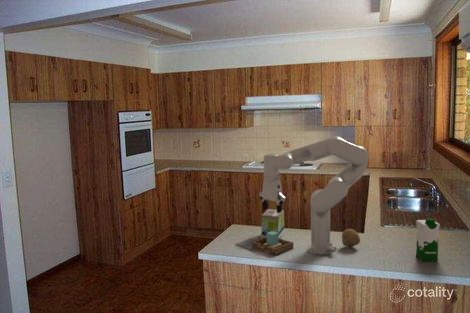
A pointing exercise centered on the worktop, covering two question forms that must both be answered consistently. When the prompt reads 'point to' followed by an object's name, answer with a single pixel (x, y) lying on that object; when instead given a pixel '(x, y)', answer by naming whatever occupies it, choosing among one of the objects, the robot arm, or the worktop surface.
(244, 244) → the slate pad
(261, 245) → the crate
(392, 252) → the worktop surface
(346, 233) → the natural sponge
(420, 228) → the milk carton
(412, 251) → the worktop surface
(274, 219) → the tea box
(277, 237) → the teal block
